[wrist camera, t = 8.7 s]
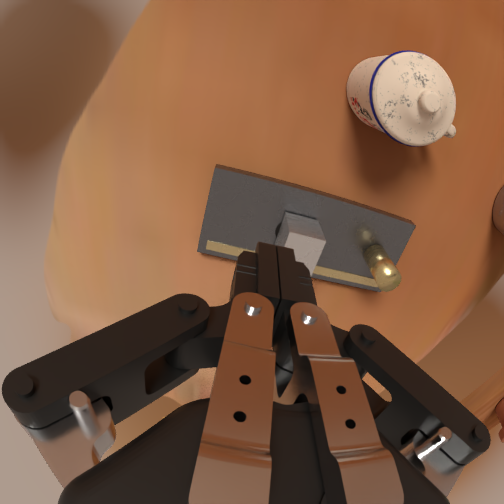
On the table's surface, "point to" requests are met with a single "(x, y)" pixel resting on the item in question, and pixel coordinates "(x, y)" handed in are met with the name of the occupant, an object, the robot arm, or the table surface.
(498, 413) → the potted cactus
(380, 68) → the teacup with lid
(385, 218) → the plate
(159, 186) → the table surface
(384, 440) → the robot arm
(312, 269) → the light grey block
